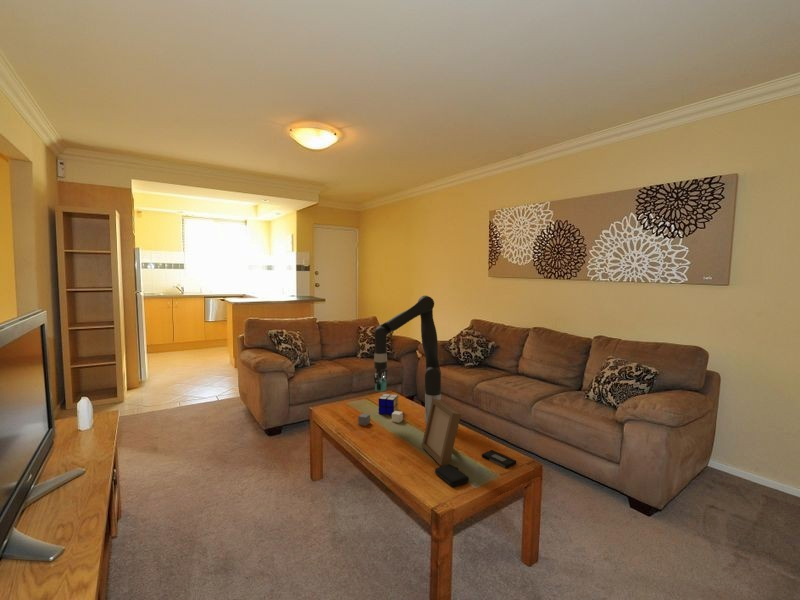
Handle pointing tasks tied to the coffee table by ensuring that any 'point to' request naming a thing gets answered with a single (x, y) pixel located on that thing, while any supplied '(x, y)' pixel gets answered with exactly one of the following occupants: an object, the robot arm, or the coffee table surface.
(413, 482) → the coffee table surface
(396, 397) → the puzzle cube
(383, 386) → the teal block
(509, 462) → the vhs tape
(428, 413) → the robot arm
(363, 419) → the charcoal block
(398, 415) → the off-white block
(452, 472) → the carrying case or bag
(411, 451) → the coffee table surface
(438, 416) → the photo frame
